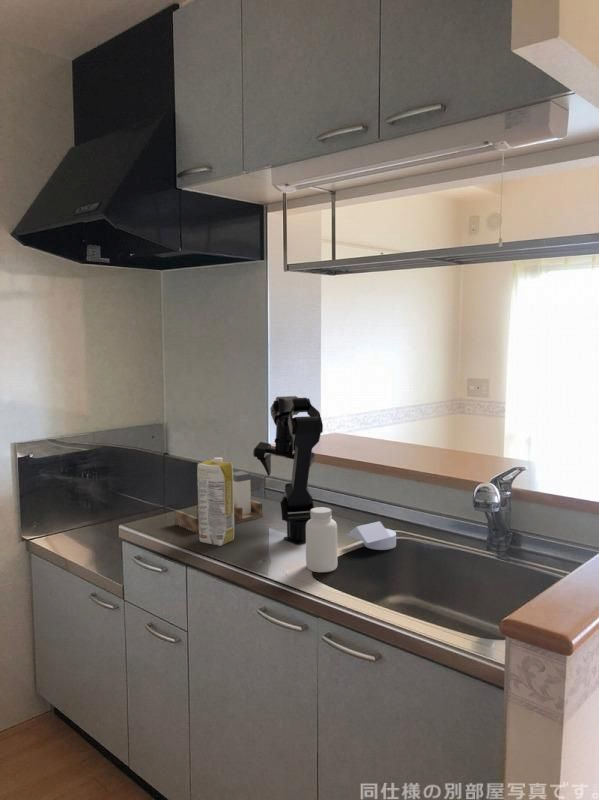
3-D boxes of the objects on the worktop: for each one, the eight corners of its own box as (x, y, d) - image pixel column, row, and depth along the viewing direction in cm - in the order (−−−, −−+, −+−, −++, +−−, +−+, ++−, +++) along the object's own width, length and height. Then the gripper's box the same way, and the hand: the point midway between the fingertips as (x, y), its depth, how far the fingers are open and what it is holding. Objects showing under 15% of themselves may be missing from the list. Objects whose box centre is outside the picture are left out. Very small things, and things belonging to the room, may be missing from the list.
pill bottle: (299, 566, 164) (299, 509, 163) (323, 559, 169) (323, 503, 168) (319, 575, 158) (318, 516, 156) (343, 568, 163) (343, 510, 161)
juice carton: (238, 539, 186) (236, 457, 183) (221, 547, 179) (219, 462, 176) (212, 534, 190) (210, 454, 188) (195, 542, 184) (192, 459, 181)
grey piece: (250, 513, 209) (250, 473, 207) (237, 515, 206) (236, 475, 204) (242, 509, 213) (242, 470, 211) (229, 512, 210) (228, 473, 208)
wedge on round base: (367, 555, 172) (402, 545, 180) (367, 530, 171) (403, 522, 179) (345, 546, 180) (380, 537, 187) (345, 522, 179) (381, 514, 186)
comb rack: (262, 516, 208) (262, 503, 207) (196, 533, 191) (195, 518, 191) (240, 509, 217) (240, 496, 216) (175, 524, 200) (174, 510, 200)
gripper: (321, 429, 204) (317, 471, 211) (265, 418, 209) (264, 460, 215) (311, 444, 194) (308, 488, 201) (253, 432, 199) (252, 476, 205)
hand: (282, 477), depth 206 cm, fingers open, 9 cm apart
